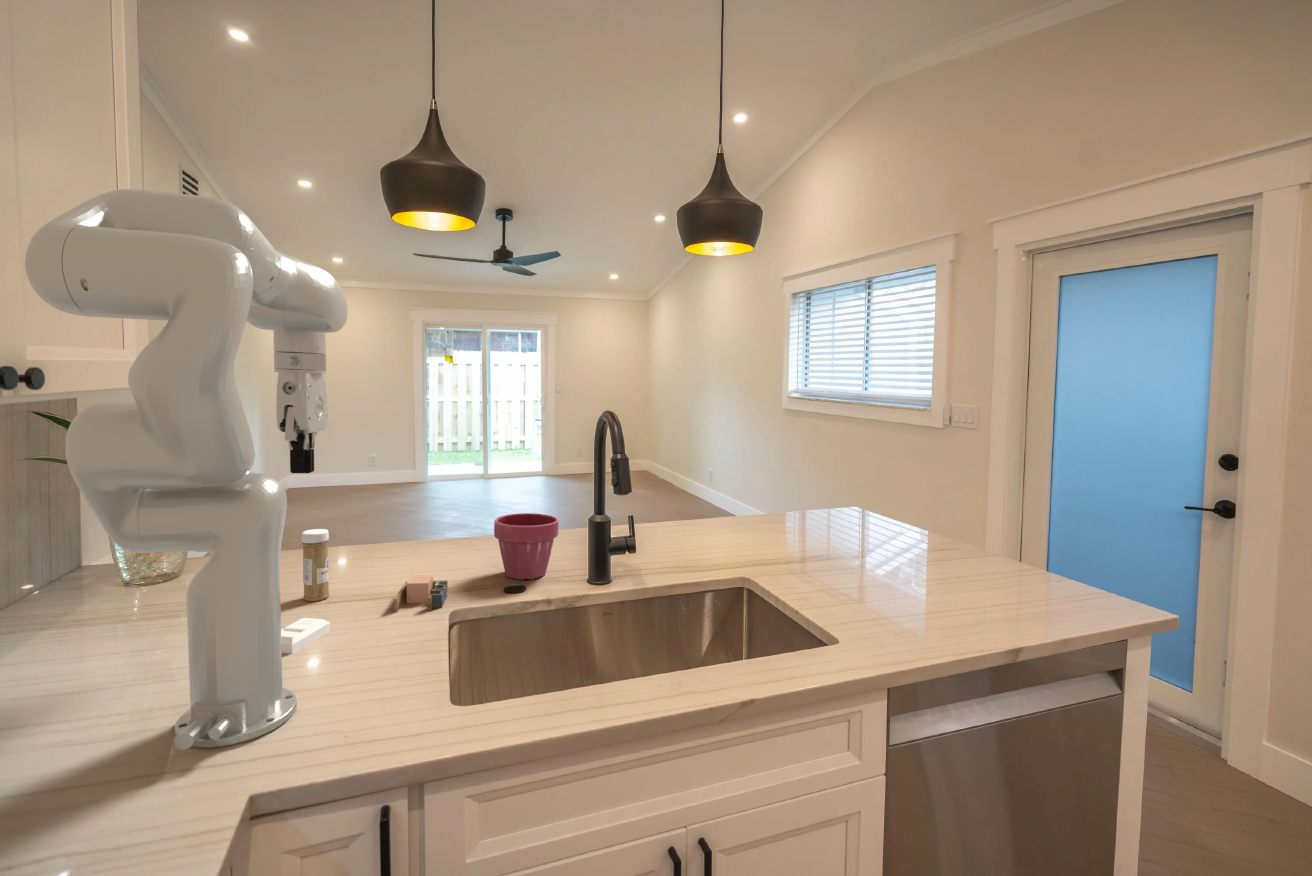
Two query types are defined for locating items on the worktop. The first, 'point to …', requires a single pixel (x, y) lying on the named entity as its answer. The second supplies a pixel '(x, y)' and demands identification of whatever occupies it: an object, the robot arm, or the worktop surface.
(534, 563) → the plant pot
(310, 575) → the sprinkles bottle
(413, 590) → the block
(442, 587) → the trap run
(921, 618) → the worktop surface
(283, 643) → the white flat block
